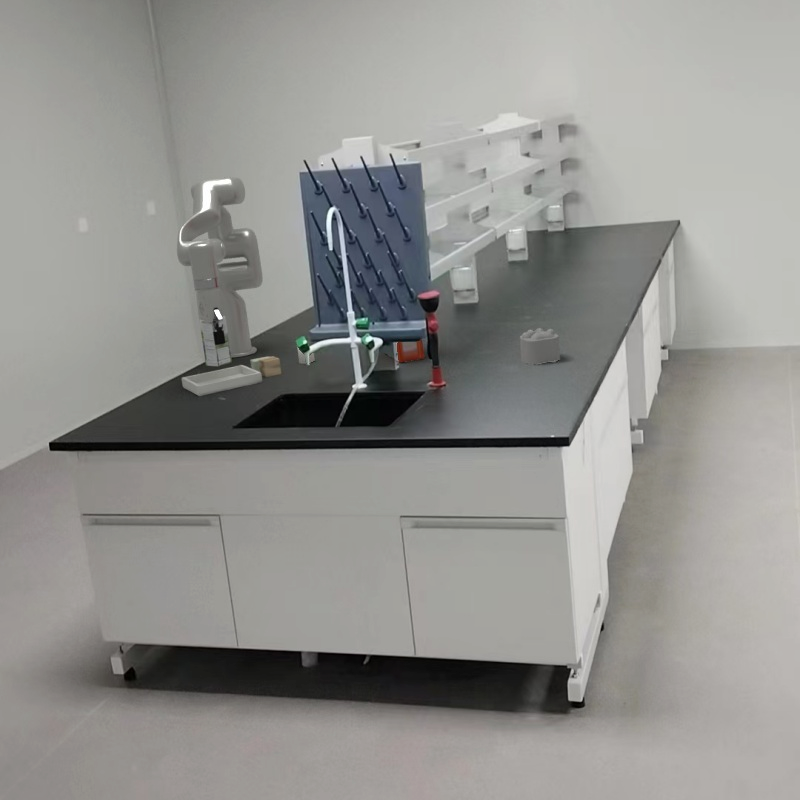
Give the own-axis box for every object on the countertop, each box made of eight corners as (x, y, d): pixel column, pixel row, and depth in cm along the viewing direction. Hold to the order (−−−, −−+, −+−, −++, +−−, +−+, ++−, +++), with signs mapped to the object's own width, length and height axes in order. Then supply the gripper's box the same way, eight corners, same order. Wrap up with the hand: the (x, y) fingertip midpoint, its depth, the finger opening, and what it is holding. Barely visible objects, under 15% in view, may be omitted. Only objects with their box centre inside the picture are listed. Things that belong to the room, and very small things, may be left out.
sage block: (252, 371, 328) (250, 359, 327) (270, 368, 331) (268, 356, 330) (255, 374, 325) (253, 361, 324) (273, 370, 327) (272, 358, 326)
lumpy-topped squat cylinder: (529, 366, 296) (527, 336, 294) (516, 357, 309) (513, 329, 307) (564, 361, 298) (562, 331, 296) (549, 352, 310) (547, 324, 308)
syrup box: (219, 361, 317) (212, 315, 313) (232, 362, 313) (225, 315, 309) (205, 365, 313) (198, 318, 309) (218, 366, 309) (211, 319, 305)
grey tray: (183, 387, 317) (181, 377, 316) (243, 374, 326) (242, 364, 325) (199, 396, 303) (197, 386, 302) (262, 382, 312) (261, 372, 311)
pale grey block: (296, 362, 334) (294, 344, 333) (310, 359, 337) (308, 341, 335) (303, 364, 330) (300, 346, 329) (317, 361, 332) (314, 343, 331)
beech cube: (260, 374, 323) (258, 359, 321) (275, 371, 325) (273, 356, 324) (266, 377, 318) (264, 361, 317) (281, 374, 321) (279, 358, 319)
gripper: (185, 284, 312) (195, 341, 317) (204, 288, 297) (213, 348, 302) (209, 280, 316) (218, 336, 320) (228, 284, 301) (237, 343, 305)
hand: (215, 342), depth 311 cm, fingers closed on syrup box, 7 cm apart
